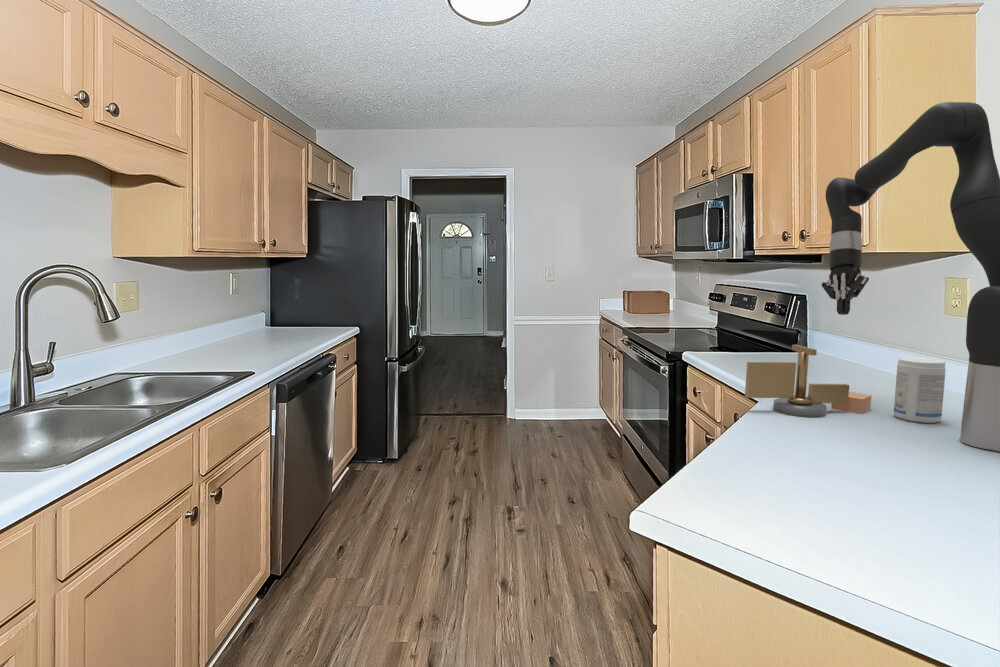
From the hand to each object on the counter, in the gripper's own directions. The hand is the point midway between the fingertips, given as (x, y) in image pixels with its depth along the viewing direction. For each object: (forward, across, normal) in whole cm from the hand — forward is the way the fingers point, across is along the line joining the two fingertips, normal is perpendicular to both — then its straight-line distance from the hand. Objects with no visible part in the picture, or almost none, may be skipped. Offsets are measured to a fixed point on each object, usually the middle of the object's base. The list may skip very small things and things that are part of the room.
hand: (843, 314), depth 153 cm
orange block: (+25, +1, +3) cm, 25 cm away
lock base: (+27, -1, -12) cm, 30 cm away
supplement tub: (+26, +12, +10) cm, 31 cm away
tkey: (+25, -1, -14) cm, 28 cm away
